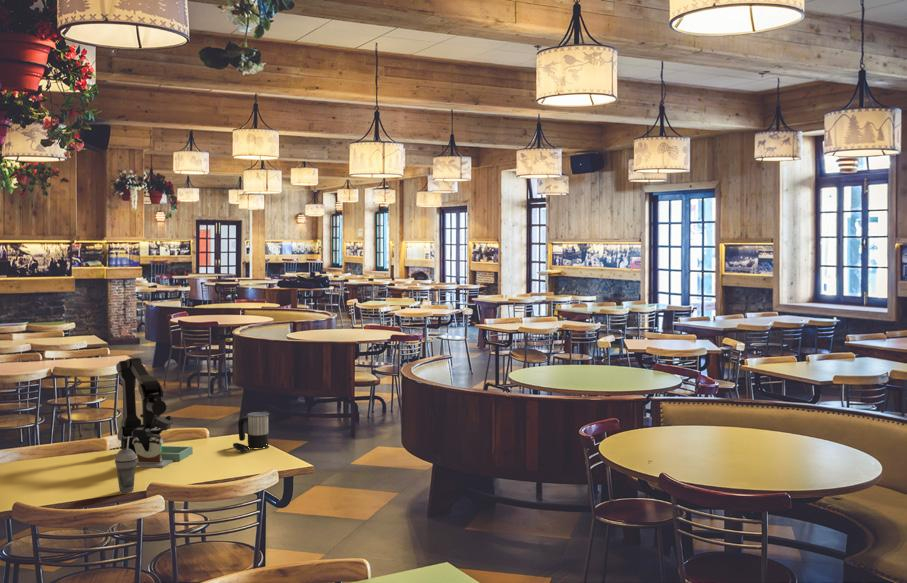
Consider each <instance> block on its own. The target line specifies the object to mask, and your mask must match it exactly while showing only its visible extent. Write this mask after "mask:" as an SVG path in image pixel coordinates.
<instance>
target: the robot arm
mask: <svg viewBox="0 0 907 583" xmlns="http://www.w3.org/2000/svg"><path fill="white" fill-rule="evenodd" d="M115 368H116V369H115V370H116V372H117V376H118V378H119V379H120V380H121V381H122V397H123V398H122V399H123V411H124V412H123V415H124V416H123V417H122V419H121V421H120V426H119V429H118V432H117V440H118V441H120V450H121V449H124V448H127V440H128V436H129V445H128V448H129V449H131V450H133V451H134V453H135V454H136V451H135V447H134V444H132V441H133V439H135V438H136V437H137V438H138V439H139V441H140V442H141V444H142V446H143V447H144V449H145V451H146V452H148V451H149V444H150V438H151V437H152V436H153V435H150V434H157V435H160V436H161V434H162V433H163V432H164V431H167V430H170V429H171V426H172V425H173V424H174V420H173V416H172V415H167V416H166V417H164V416H163V417H162V416H161V415H163V414H164V413H165V412H166V410H167V404H166V402H165V401H164V400H162V398H164V389H163V388H162V385H161V383H160V381H158V379H157V378H156V377H155V376H152V375H151V374H149V372H148V370H147V369H146V367H145V366H144V363H143V362H142V359H141V357H129V358H127V359H125V360H120V361H119V362H118V363H116V365H115ZM136 380H137V382H138V388H137V389H138V393H139V395H140V399H141V404H142V405H141V409H142V410H141V414H139V415H140V416H139V417H140V418H139V417H138V415H137V407H136V406H137V404H136V387H135V381H136ZM141 419H142V420H141Z"/></svg>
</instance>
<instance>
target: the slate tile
mask: <svg viewBox="0 0 907 583" xmlns="http://www.w3.org/2000/svg"><path fill="white" fill-rule="evenodd" d="M170 463H171V464H172V463H173V461H172V460H162V462H161V463H138V459H136V465H135V466H141V467H140V468H158V467H164V468H165V467H167V466H169V465H171V464H170ZM168 464H169V465H168ZM166 465H167V466H166Z"/></svg>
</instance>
